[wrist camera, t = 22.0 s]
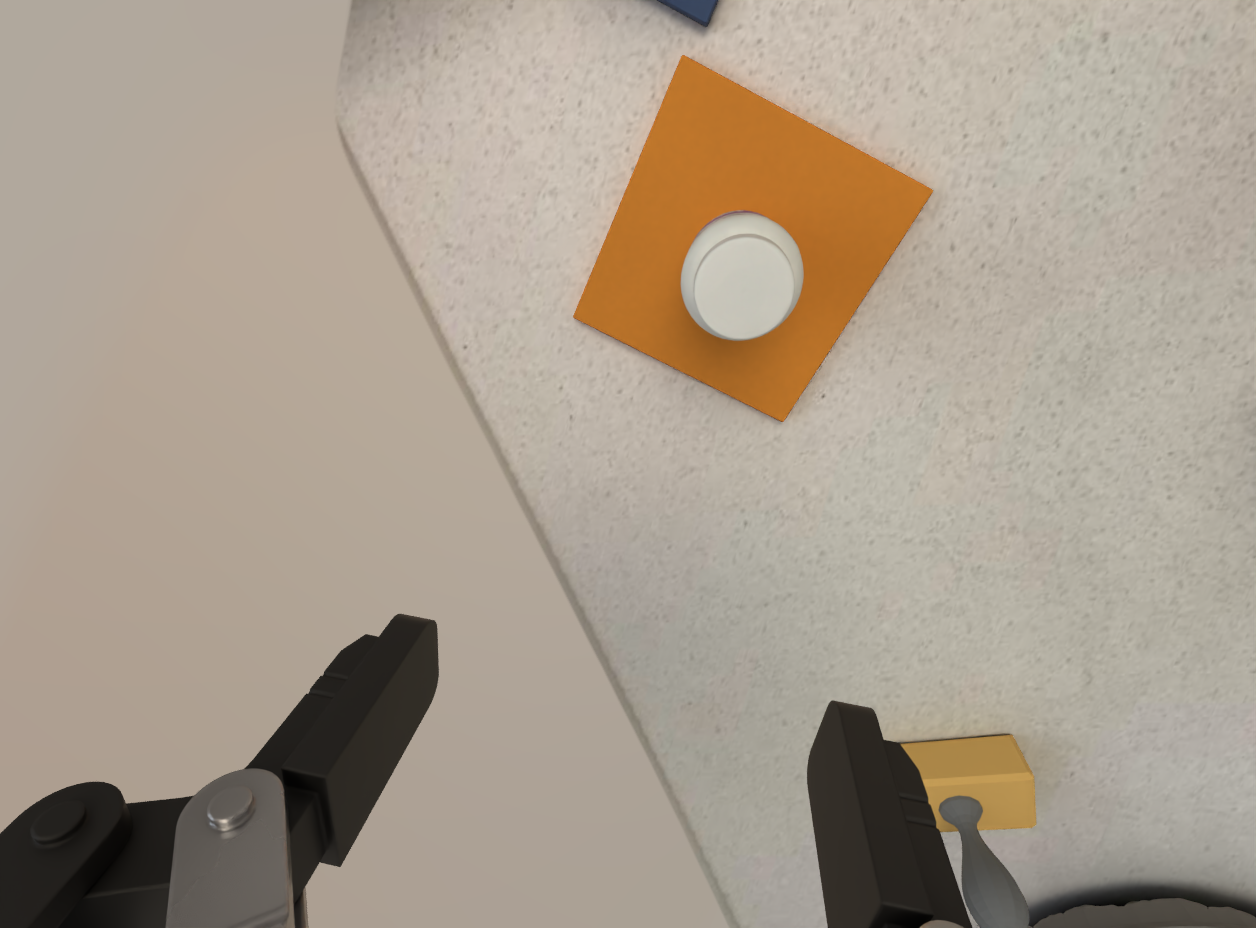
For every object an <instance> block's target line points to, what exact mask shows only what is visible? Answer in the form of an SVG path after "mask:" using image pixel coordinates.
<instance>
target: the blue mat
mask: <svg viewBox="0 0 1256 928" xmlns="http://www.w3.org/2000/svg"><path fill="white" fill-rule="evenodd" d="M657 1H659V2H661V3H663V4H665V5H667V6H668V7H670V8H672V9H674V10H676V11H678V12H679V13H681V14H683V15H685V16H687V17H689V18H690V19H692V20H694V21H696V22H698V23H700V24H701V25H703V26H705V27H707V26H708V24H709V21H710V19H711V16H712V14H713V12H714V9H715V7H716V5H717V2H718V0H657Z"/></svg>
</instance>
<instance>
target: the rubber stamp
mask: <svg viewBox="0 0 1256 928" xmlns="http://www.w3.org/2000/svg"><path fill="white" fill-rule="evenodd" d="M901 746H902V747H903V749H904V750H905V751H906V753H907V754H908V756H909V757H910V758H911V760H912V761H913V762H914V764H915V765H916V767H917V768H918V769H919V771H920V774H921V777H922V780H923V783H924V786H925V789H926V792H927V795H928V798H929V799H928V803H929V804H931V807H932V810H933V813H934V816H935V819H936V822H937V823H936V827H937V829H939V831H940V832H953V831H959V833H960V836H961V840H962V890H963V895H964V899H965V902H966V905H967V907H968V909H969V911H970V913H971V915H972V916H973V918H974V919H975V921H976V922H977V924H978V925H979V927H980V928H1028V924H1029V910H1028V906H1027V903H1026V901H1025V898H1024V896H1023V894H1022V892H1021V891H1020V889H1019V887H1018V885H1017V884H1016V882H1015V880H1014V879H1013V877H1012V876H1011V874H1010V873H1009V872H1008V870H1007V869H1006V868H1005V867H1004V865H1003V864H1002V863H1001V862H1000V861H999V859H998V858H997V857H996V856H995V855H994V854H993V853H992V851H991V850H990V849H989V848H988V846H987V845H986V844H985V842H984V841H983V839H982V838H981V836H980V834H979V832H978V830H996V829H1017V828H1032V827H1034V826H1035V825H1036V807H1035V785H1034V776H1033V774H1032V771H1031V769H1030V768H1029V766H1028V764H1027V762H1026V760H1025V758H1024V756H1023V754H1022V752H1021V750H1020V749H1019V747H1018V745H1017V743H1016V741H1015V739H1014V737H1013V735H1001V736H989V737H976V738H964V739H952V740H940V741H928V742H916V743H904V744H901Z"/></svg>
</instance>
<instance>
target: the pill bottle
mask: <svg viewBox="0 0 1256 928" xmlns="http://www.w3.org/2000/svg"><path fill="white" fill-rule="evenodd" d="M803 278H804V271H803V262H802V258H801V254H800V251H799V248H798V246H797V244H796V242H795V241H794V239H793V238H792V237H791V235H790V234H789V233H788V232H787V231H786V230H785V229H784V228H783V227H782V226H780V225H779V224H778V223H776V222H774V221H772V220H770V219H769V218H767V217H765V216H764V215H761V214H759V213H756V212H752V211H746V210H736V211H730V212H727V213H724V214H722V215H719V216H717V217H716V218H714V219H712V220H711V221H710V222H708V223H707V224H706V225H705V226H704V227H703V228H702V229H701V230H700V231H699V232H698V234H697V235H696V237H695V239H694V241H693V243H692V245H691V246H690V248H689V251H688V253H687V255H686V258H685V260H684V264H683V267H682V272H681V293H682V297H683V301H684V304H685V306H686V308H687V310H688V312H689V314H690V315H691V317H692V318H693V319H694V321H695V322H696V323H697V324H698V325H699V326H700V327H701V328H703V329H704V330H705V331H707V332H709V333H710V334H712V335H714V336H716V337H719V338H722V339H726V340H733V341H743V340H750V339H755V338H758V337H760V336H763V335H765V334H767V333H769V332H771V331H772V330H774V329H775V328H777V327H778V326H779V325H780V324H781V323H783V322H784V321H785V319H786V318H787V317H788V316H789V315H790V313H791V312H792V311H793V309H794V307H795V306H796V303H797V301H798V299H799V297H800V294H801V290H802V285H803Z"/></svg>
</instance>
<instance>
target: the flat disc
mask: <svg viewBox="0 0 1256 928" xmlns="http://www.w3.org/2000/svg"><path fill="white" fill-rule="evenodd" d="M1028 928H1256V917H1254V916H1253V915H1250V914H1248V913H1245V912H1243V911H1240V910H1235V909H1233V908H1231V907H1219V908H1218V907H1206V906H1204V905H1202V904H1200V903H1196V902H1192V901H1188V900H1185V899H1182V898H1169V899H1154V900H1151V901H1147V900H1141V901H1139V902H1138V901H1131V902H1128V903H1127V904H1126V905H1125V906H1124V907H1123V906H1119V907H1117V906H1115V905H1108V906H1093V905H1081V906H1079V907H1074V908H1073V909H1070V910H1067V911H1065V913H1064V914H1062V913H1058V914H1056V915H1049V916H1048V917H1047V918H1043V919H1041V920H1040V921H1039V922H1038V923H1037V924H1036V925H1035V926H1034V927H1031V926H1028Z"/></svg>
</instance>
